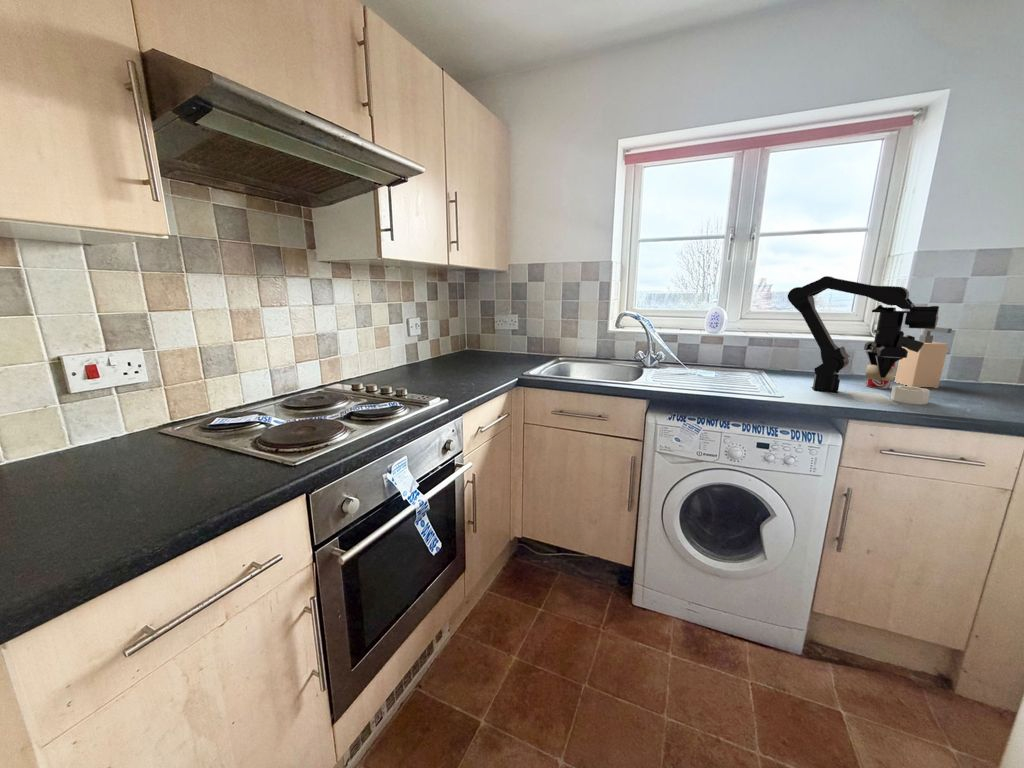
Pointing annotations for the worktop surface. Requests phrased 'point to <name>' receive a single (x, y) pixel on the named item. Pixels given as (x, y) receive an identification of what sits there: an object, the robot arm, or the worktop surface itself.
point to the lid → (874, 374)
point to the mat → (870, 397)
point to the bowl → (910, 394)
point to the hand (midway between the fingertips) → (879, 375)
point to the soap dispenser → (923, 362)
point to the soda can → (878, 382)
